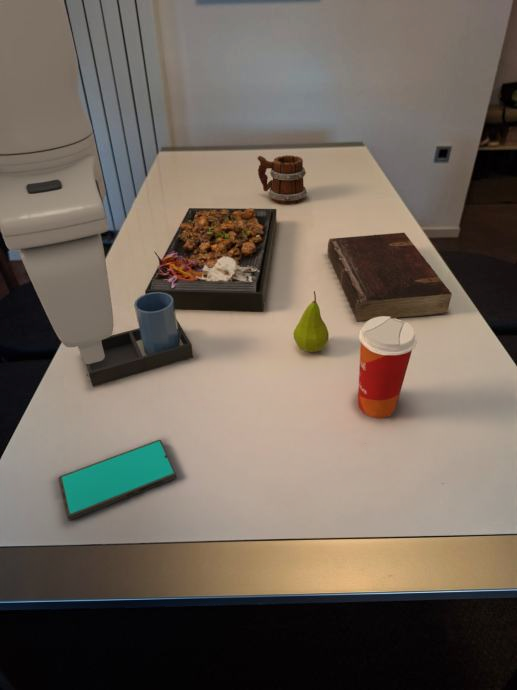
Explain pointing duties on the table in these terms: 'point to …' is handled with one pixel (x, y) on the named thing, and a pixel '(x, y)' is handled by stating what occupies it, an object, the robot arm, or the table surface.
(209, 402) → the table surface
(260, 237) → the food platter
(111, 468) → the smartphone
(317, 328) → the fruit
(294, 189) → the mug
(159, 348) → the blue cup
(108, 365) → the tray
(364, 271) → the hardback book
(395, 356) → the coffee cup
